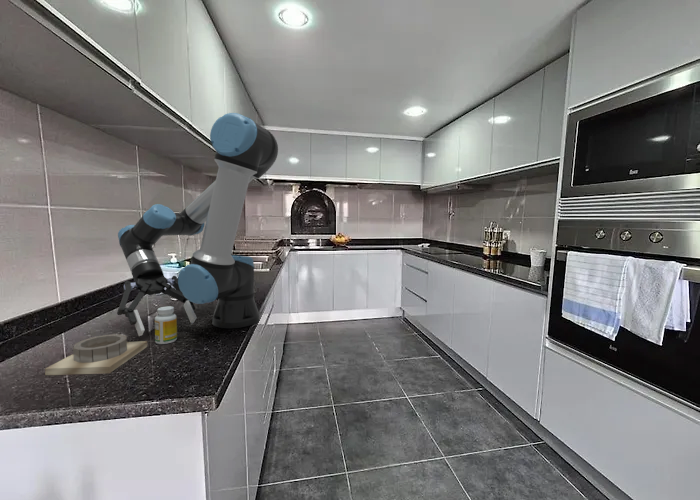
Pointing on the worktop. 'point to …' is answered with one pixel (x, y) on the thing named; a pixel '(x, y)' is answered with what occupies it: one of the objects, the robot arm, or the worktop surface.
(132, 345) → the jig plate
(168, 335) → the supplement bottle
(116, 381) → the worktop surface
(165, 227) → the robot arm
